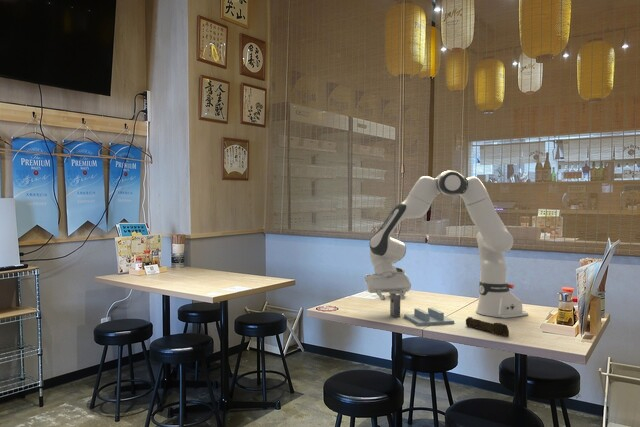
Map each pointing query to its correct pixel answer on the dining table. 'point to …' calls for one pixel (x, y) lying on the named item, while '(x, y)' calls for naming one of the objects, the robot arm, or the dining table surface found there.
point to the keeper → (428, 317)
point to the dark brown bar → (488, 326)
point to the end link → (395, 305)
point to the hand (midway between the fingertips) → (393, 299)
